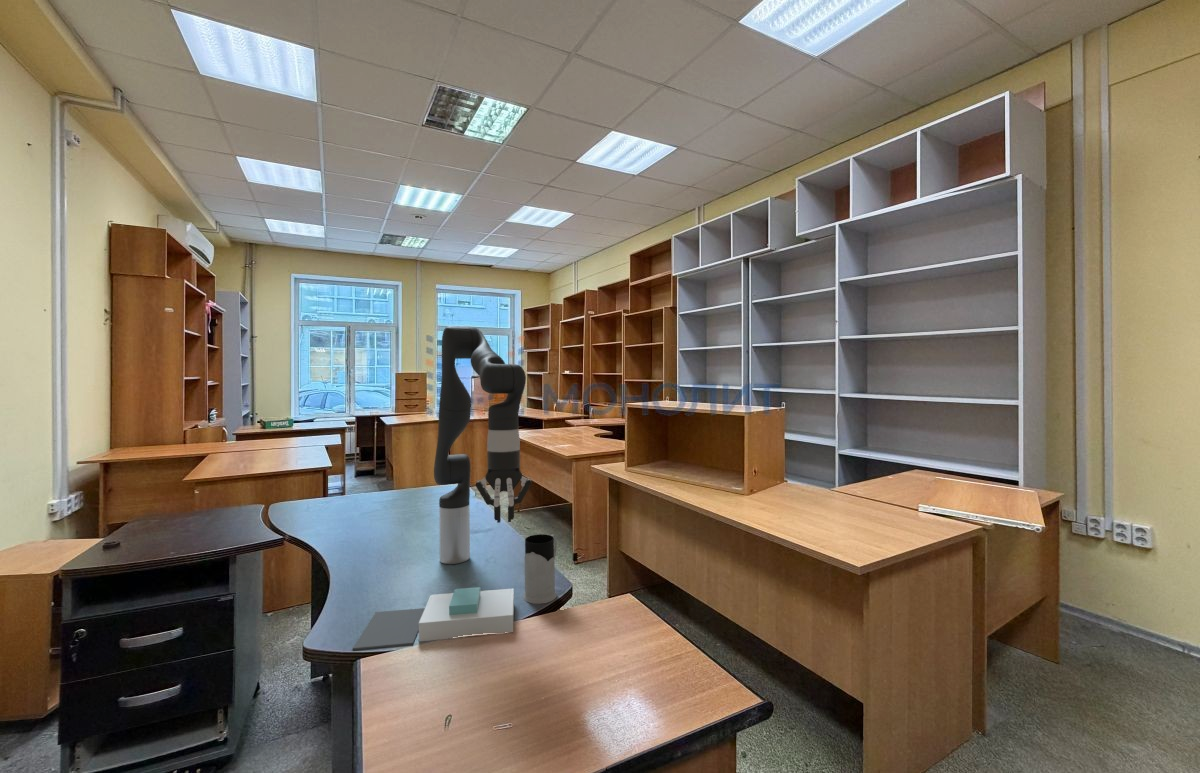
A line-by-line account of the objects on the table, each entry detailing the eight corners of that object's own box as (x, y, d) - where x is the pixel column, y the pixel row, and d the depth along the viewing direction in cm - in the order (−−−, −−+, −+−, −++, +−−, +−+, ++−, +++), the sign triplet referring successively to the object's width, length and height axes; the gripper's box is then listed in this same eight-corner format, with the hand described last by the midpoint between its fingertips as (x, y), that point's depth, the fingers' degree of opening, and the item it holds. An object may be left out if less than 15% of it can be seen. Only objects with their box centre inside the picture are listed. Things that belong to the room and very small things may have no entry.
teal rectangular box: (454, 597, 114) (454, 589, 114) (480, 595, 115) (480, 587, 115) (449, 615, 105) (449, 606, 105) (476, 612, 106) (476, 603, 106)
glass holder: (516, 600, 121) (516, 542, 121) (542, 579, 134) (541, 526, 134) (547, 605, 118) (547, 546, 118) (570, 583, 131) (569, 529, 131)
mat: (375, 613, 115) (375, 612, 115) (427, 609, 117) (427, 607, 117) (352, 650, 99) (352, 648, 99) (412, 644, 101) (412, 642, 101)
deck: (430, 611, 116) (430, 594, 116) (513, 604, 119) (513, 588, 119) (418, 641, 102) (418, 623, 102) (512, 632, 105) (512, 615, 105)
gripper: (532, 445, 117) (533, 515, 117) (475, 447, 114) (475, 518, 114) (533, 449, 109) (534, 524, 109) (472, 451, 107) (472, 527, 107)
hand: (504, 521), depth 112 cm, fingers closed
